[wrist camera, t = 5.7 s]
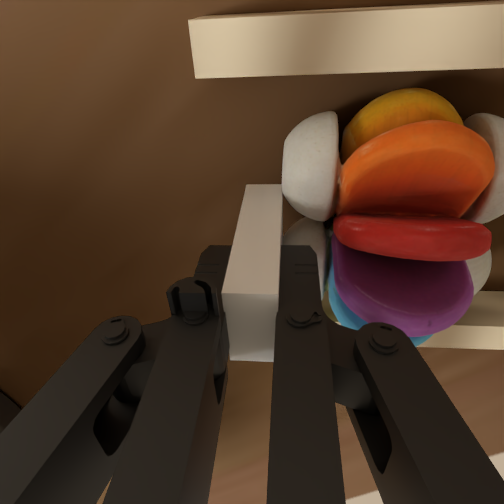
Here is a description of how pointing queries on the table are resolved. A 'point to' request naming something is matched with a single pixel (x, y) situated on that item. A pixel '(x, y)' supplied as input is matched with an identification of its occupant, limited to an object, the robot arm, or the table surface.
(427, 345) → the channel
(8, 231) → the table surface
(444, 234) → the rainbow disc toy
